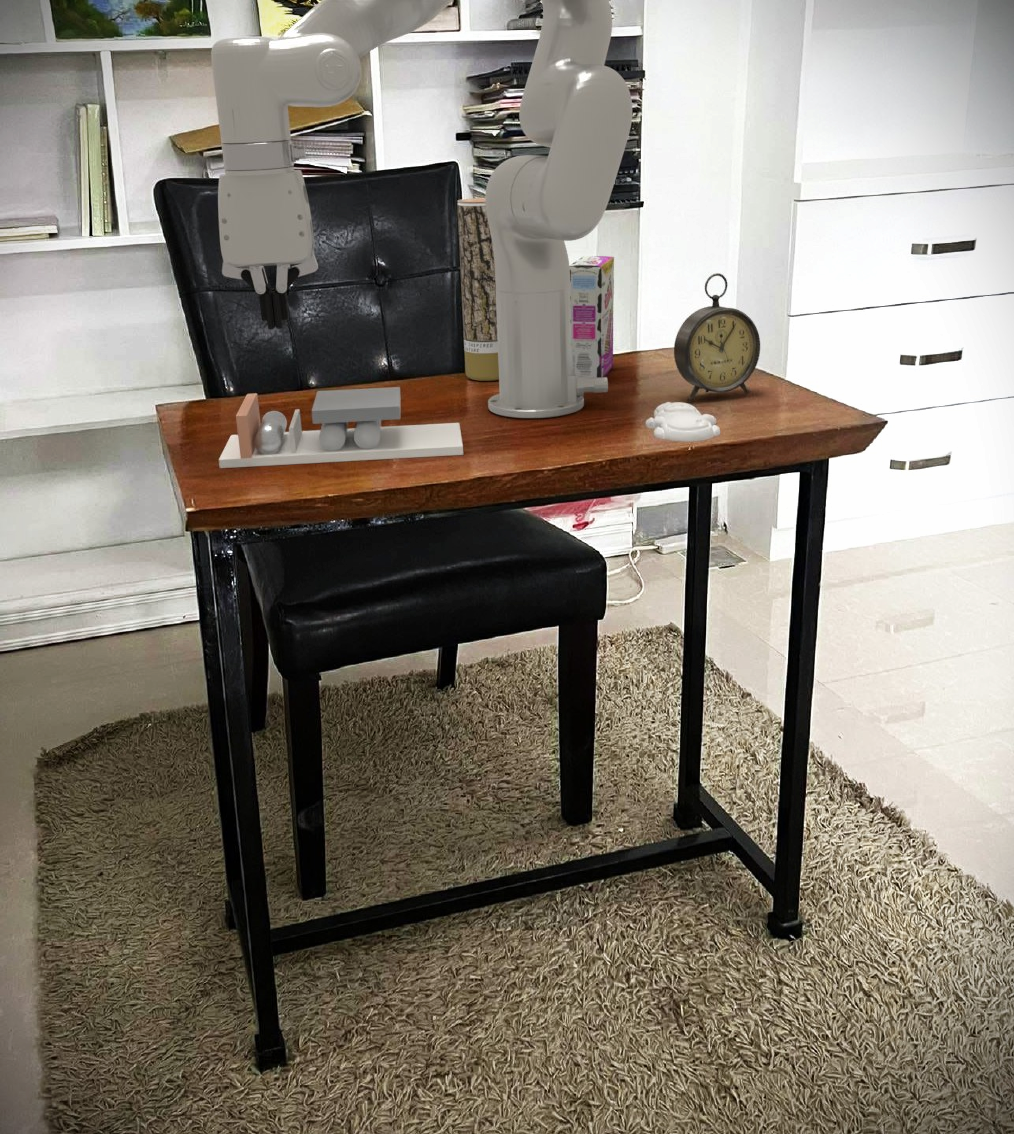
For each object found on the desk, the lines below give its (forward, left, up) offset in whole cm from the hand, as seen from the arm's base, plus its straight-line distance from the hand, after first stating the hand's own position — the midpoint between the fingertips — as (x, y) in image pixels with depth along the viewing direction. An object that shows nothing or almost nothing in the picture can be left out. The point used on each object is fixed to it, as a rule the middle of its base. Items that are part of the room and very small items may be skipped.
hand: (276, 326), depth 144 cm
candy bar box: (-41, -33, -15) cm, 55 cm away
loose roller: (+2, 0, -14) cm, 14 cm away
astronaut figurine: (-48, -1, -16) cm, 50 cm away
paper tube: (-26, -35, -15) cm, 46 cm away
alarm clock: (-55, -16, -15) cm, 59 cm away
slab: (-9, 0, -10) cm, 13 cm away
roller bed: (-7, 0, -15) cm, 16 cm away
